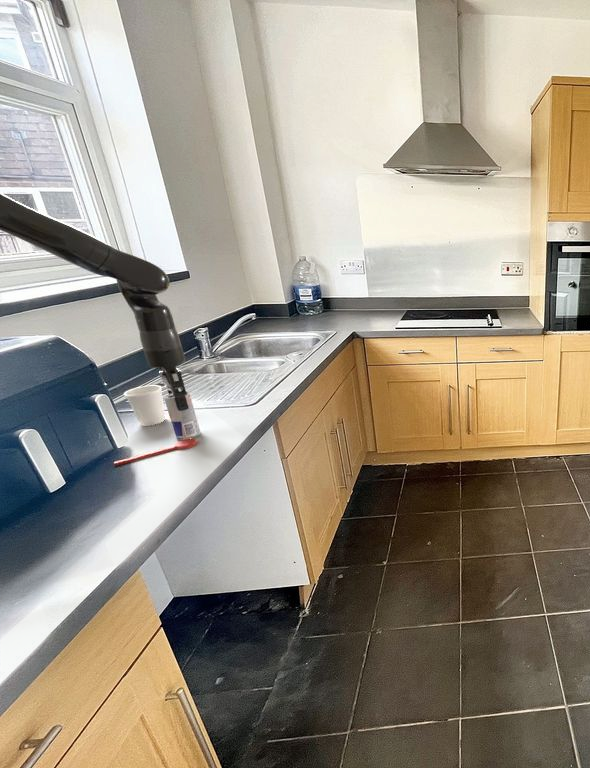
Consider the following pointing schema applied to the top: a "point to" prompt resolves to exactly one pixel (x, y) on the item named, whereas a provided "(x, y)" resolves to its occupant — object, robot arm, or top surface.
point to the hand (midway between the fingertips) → (179, 405)
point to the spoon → (160, 451)
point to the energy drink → (182, 418)
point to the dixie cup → (147, 404)
